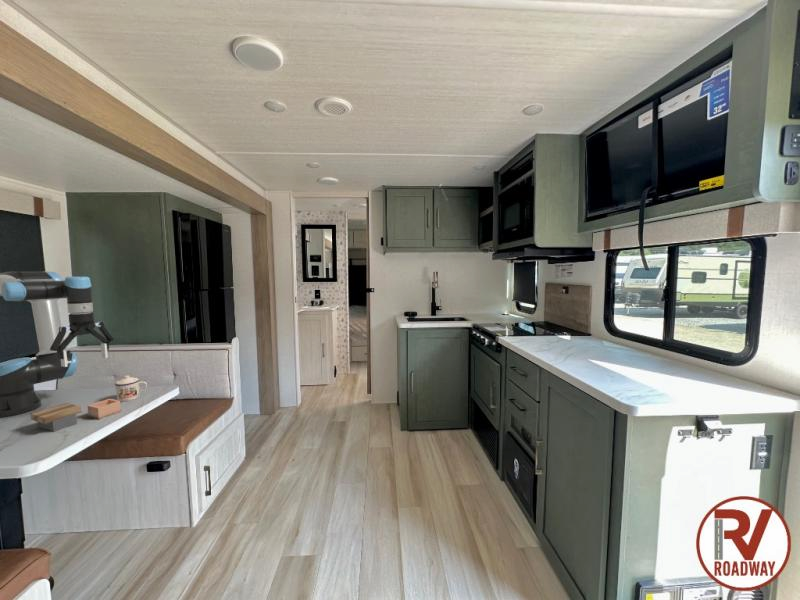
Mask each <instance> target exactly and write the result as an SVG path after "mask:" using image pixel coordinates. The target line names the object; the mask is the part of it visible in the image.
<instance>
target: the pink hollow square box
mask: <svg viewBox="0 0 800 600" xmlns="http://www.w3.org/2000/svg"><path fill="white" fill-rule="evenodd" d="M121 404H122V403H121V402H120V401H118V400H117V399H113V398H107V399H104V400H100V401H97V402H93V403H91V404H88V405H87V414H88V418H92V417H93V419H96V420H102V419H104V417H105V418H108V417H111V416H113V415H116V414H119V413H121V412H122V407H121V406H122V405H121ZM101 418H102V419H101Z"/></svg>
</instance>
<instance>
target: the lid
mask: <svg viewBox="0 0 800 600" xmlns="http://www.w3.org/2000/svg"><path fill="white" fill-rule="evenodd" d="M82 412H83V411H82V406H80V405H77V404H72V403H68V402H66V403H62V404H58V405H55V406H52V407H48V408H44V409H41V410H38V411H34V412H31V413H30V420H31V421H35V422H37V423H38V422H40V423H44V424H47V423H50V422H53V421H56V420H59V419H62V418H65V417H68V416H72V415H75V414H76V415H77V414H81V413H82Z"/></svg>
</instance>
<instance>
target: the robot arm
mask: <svg viewBox="0 0 800 600" xmlns="http://www.w3.org/2000/svg"><path fill="white" fill-rule="evenodd" d="M0 297H2V298H3V299H4V301H7V302H21V301H27V302H29V303H30V304H31V310H32V315H33V319H34V320H33V321H34V327H35V331H36V332H35V333H36V338H37V343H38V347H39V352H37V353H36V354H35V358H33V359H32V358H31V357H25V356H24V357H18V358H14V359H9V360H6V361H2V362H0V418H5V417H6V418H7V417H11V416H15V415H21V414H24V413H27V412H28V413H29V412H31V411H34V410H36V409H38V408H41V406H43V405H42V403H43V402H42V399H41V398H40V396H39V394H37V393H36V391H35V387H34V386H35V385H37V384H41V383H46V382H47V383H48V382H51V381H56V380H61V379H62V380H63V379H64V378H69V377H72V376H74V375H75V374H76V372H77V369H78V357H77V354H76V353H74V352H71V349H69V348H68V346H69V344H70V343H72V341H73V340H74V339H75V338H76V337H78V336H83V335H89V334H90V335H92V336H94V337H95V338H97V339H98V340H99V341H101V343H100V350H101V352H100V353H101V358H102V359H107V358H108V357H109V356H108V351H109V350H110V343H111V342H112V341H114V340H115V339H114V337H113V336H112V335H111V334H110V332H109V331H108V329H107V328H106V326H105V323H104V322H103V321H97V322H95V315H94V313H93V312H94V306H93V305H94V303H93V295H92V283H91V278H90V277H89V276H66V277H65V279H64V280H63V279H62V277H61V275H60V274H59V273H57V272H55V271H45V270H42V271H41V270H40V271H35V270H34V271H32V270H31V271H5V272H4V271H3V272H0ZM60 299H66V303H67V313H68V315H67V316H68V323H69V325H68V326H62V322H61V315H60V309H59V304H58V300H60ZM95 327H96V328H98V330H99V331H100V332H101V333H102V335H101V334H100V333H99V332H98V331H97V330H95ZM68 331H70V332H69V333H68V335H67V336H66V337H65V335H66V333H67V332H68ZM64 338H65V339H64Z"/></svg>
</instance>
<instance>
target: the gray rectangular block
mask: <svg viewBox="0 0 800 600" xmlns="http://www.w3.org/2000/svg"><path fill="white" fill-rule="evenodd" d="M77 418H78V417H77V414H75V415H72V416H68V417H65V418H62V419H59V420H56V421H53V422H50V423H47V424H44V423H40V422H37V425H38V427H39V428H42V429H45V430H48V431H51V432H57V431H60V430H63V429H66V428H69V427H71V426H74V425H77V424H78V419H77Z"/></svg>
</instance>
